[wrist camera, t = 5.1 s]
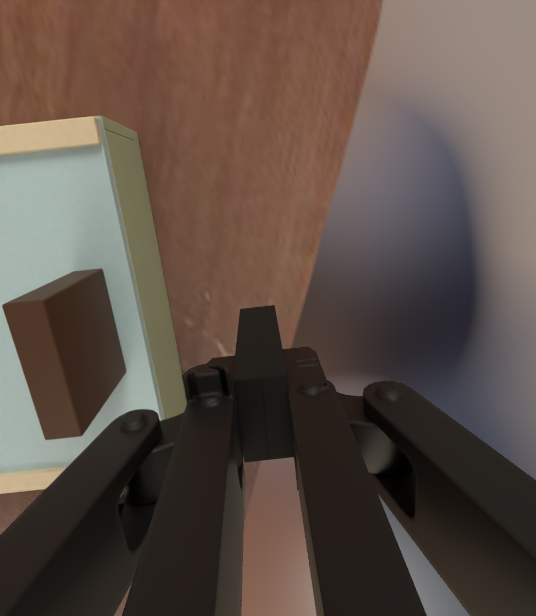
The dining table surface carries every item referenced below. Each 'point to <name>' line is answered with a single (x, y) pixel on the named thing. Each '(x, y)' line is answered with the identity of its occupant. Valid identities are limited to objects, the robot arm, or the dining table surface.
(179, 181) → the dining table surface
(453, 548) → the robot arm
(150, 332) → the green open storage box
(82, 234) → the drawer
